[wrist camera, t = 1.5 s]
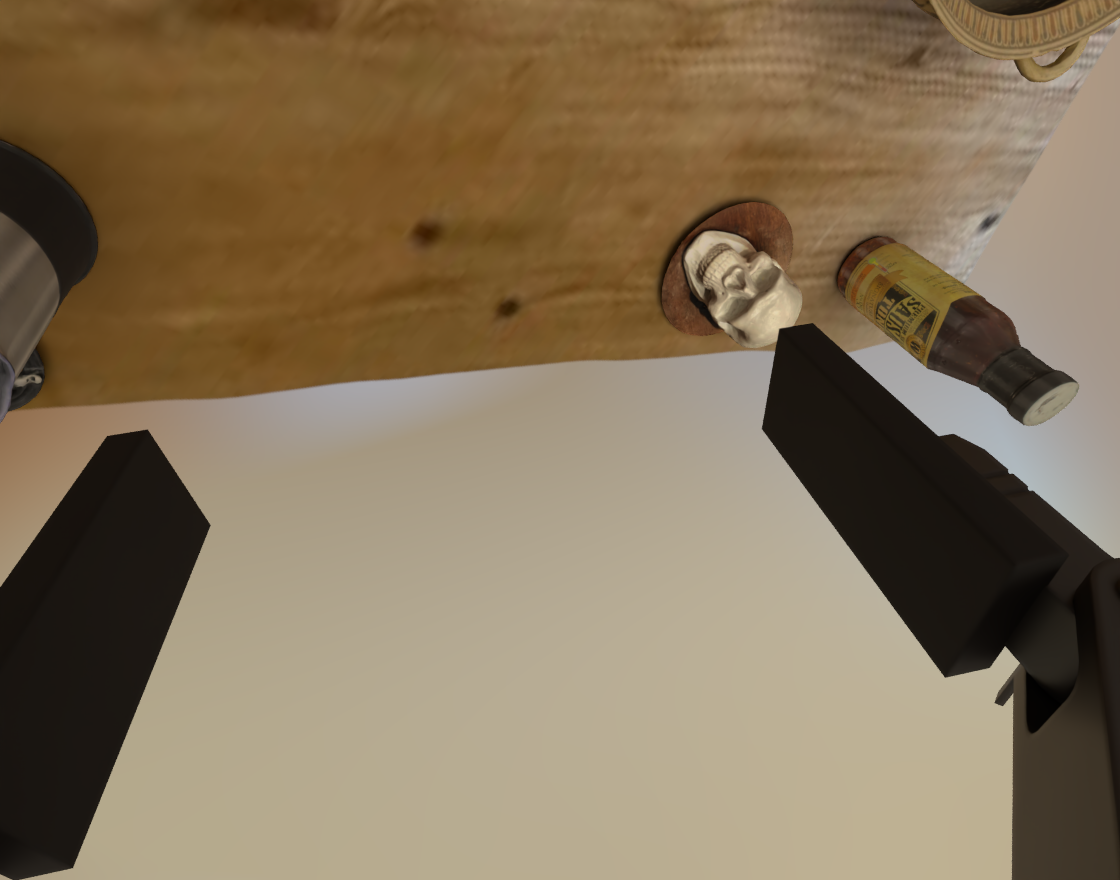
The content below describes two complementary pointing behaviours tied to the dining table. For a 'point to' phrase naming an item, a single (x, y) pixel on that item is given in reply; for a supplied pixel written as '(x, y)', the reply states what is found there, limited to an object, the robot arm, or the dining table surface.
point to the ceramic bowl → (1025, 29)
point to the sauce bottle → (951, 329)
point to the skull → (734, 277)
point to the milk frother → (35, 265)
